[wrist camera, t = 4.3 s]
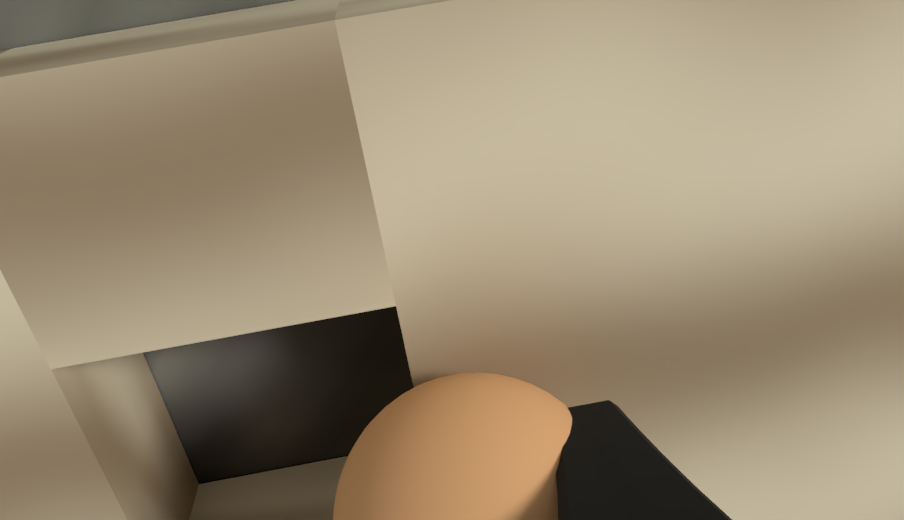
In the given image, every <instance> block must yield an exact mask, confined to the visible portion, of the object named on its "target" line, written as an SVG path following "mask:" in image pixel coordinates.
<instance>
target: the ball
mask: <svg viewBox="0 0 904 520" xmlns="http://www.w3.org/2000/svg"><path fill="white" fill-rule="evenodd" d="M571 426H572V416H571V413H570V411H569V410H568V407H567V406H566V405H565V404H564V403H562V402H561V401H560V400H558V399H557V398H555V397H554V396H553V395H551V394H550V393H548V392H546V391H544V390H542V389H540V388H539V387H537V386H535V385H533V384H530V383H527V382H524V381H522V380H519V379H516V378H512V377H508V376H504V375H499V374H493V373H481V372H476V373H460V374H454V375H449V376H444V377H439V378H436V379H433V380H431V381H428V382H425V383H423V384H420V385H418V386H416V387H414V388H412V389H411V390H409V391H407V392H405V393H403V394H402V395H400V396H399V397H398V398H396V399H395V400H394V401H392V402H391V403H390V404H388V405H387V406H386V407H384V408H383V409H382V410H381V411H380V412H379V414H378V415H377V416H376V417H375V418H374V419H373V420H372V421H371V422H370V423H369V424H368V425H367V427H366V428H365V429H364V431H363V432H362V434H361V435H360V437H359V438H358V440H357V441H356V443H355V445H354V446H353V448H352V450H351V452H350V453H349V456H348V458H347V460H346V462H345V465H344V467H343V470H342V473H341V476H340V479H339V483H338V487H337V491H336V496H335V502H334V510H333V520H558V495H557V484H556V471H557V467H558V464H559V460H560V456H561V451H562V447H563V446H564V444H565V442H566V441H567V439H568V436H569V434H570V431H571Z"/></svg>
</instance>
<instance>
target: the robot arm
mask: <svg viewBox="0 0 904 520" xmlns="http://www.w3.org/2000/svg"><path fill="white" fill-rule="evenodd" d="M568 410H569V411H570V413H571V416H572V426H571V431H570V434H569V436H568V439H567V441H566V442H565V444H564V446H563V447H562V451H561V456H560V460H559V464H558V467H557V471H556V484H557V495H558V520H732V519H731V518H730V517H729V516H728V515H727V514H725V513H724V512H723V511H722V510H721V509H720V508H719V507H718V506H717V505H716V504H715V503H713V502H712V501H711V500H710V499H709V498H708V497H707V496H706V495H705V494H704V493H702V492H701V491H700V490H699V489H698V488H697V487H696V486H695V485H694V484H693V483H692V482H691V481H690V480H689V479H688V478H687V477H686V476H685V475H684V474H683V473H682V472H681V471H680V470H679V469H678V468H677V467H675V466H674V465H673V464H672V463H671V462H670V461H669V460H668V459H667V458H666V457H665V456H664V455H663V454H662V453H661V452H660V451H659V450H658V448H657V447H656V446H655V445H654V444H653V443H652V442H651V441H650V440H649V439H648V438H647V437H646V436H645V435H644V434H643V433H642V432H641V431H640V430H639V429H638V428H637V427H636V425H635V424H634V423H633V422H632V421H631V420H630V419H629V418H628V417H627V416H626V415H625V413H624V412H623V411H622V410H621V409H620V408H619V407H618V406H617V405H616V404H614V403H613V402H611V401H610V400H606V401H601V402H595V403H590V404H585V405H579V406H574V407H568Z"/></svg>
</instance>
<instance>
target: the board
mask: <svg viewBox="0 0 904 520" xmlns="http://www.w3.org/2000/svg"><path fill="white" fill-rule="evenodd" d="M394 306H396V308H397V313H398V317H399V322H400V327H401V331H402V336H403V341H404V345H405V350H406V355H407V359H408V364H409V369H410V373H411V378H412V383H413V387H416V386H418V385H420V384H423V383H425V382H428V381H431V380H433V379H436V378H439V377H444V376H449V375H454V374H460V373H476V372H481V373H493V374H499V375H504V376H508V377H512V378H516V379H519V380H522V381H524V382H527V383H530V384H533V385H535V386H537V387H539V388H540V389H542V390H544V391H546V392H548V393H550V394H551V395H553V396H554V397H555V398H557V399H558V400H560V401H561V402H562V403H564V404H565V405H566V406H567V407H574V406H579V405H585V404H590V403H595V402H601V401H606V400H610V401H611V402H613V403H614V404H616V405H617V406H618V407H619V408H620V409H621V410H622V411H623V412H624V413H625V415H626V416H627V417H628V418H629V419H630V420H631V421H632V422H633V423H634V424H635V425H636V427H637V428H638V429H639V430H640V431H641V432H642V433H643V434H644V435H645V436H646V437H647V438H648V439H649V440H650V441H651V442H652V443H653V444H654V445H655V446H656V447H657V448H658V450H659V451H660V452H661V453H662V454H663V455H664V456H665V457H666V458H667V459H668V460H669V461H670V462H671V463H672V464H673V465H674V466H675V467H677V468H678V469H679V470H680V471H681V472H682V473H683V474H684V475H685V476H686V477H687V478H688V479H689V480H690V481H691V482H692V483H693V484H694V485H695V486H696V487H697V488H698V489H699V490H700V491H701V492H702V493H704V494H705V495H706V496H707V497H708V498H709V499H710V500H711V501H712V502H713V503H715V504H716V505H717V506H718V507H719V508H720V509H721V510H722V511H723V512H724V513H725V514H727V515H728V516H729V517H730V518H731V519H732V520H904V0H295V1H290V2H284V3H278V4H272V5H266V6H260V7H254V8H248V9H242V10H236V11H231V12H225V13H219V14H213V15H207V16H201V17H195V18H189V19H183V20H177V21H172V22H166V23H160V24H154V25H148V26H142V27H136V28H130V29H124V30H118V31H113V32H107V33H101V34H95V35H89V36H83V37H77V38H71V39H65V40H60V41H54V42H48V43H42V44H36V45H30V46H24V47H18V48H12V49H6V50H1V51H0V520H333V510H334V502H335V496H336V491H337V487H338V483H339V479H340V476H341V473H342V470H343V467H344V465H345V462H346V460H347V458H348V456H345V457H340V458H335V459H329V460H324V461H319V462H314V463H308V464H303V465H298V466H293V467H287V468H282V469H277V470H271V471H266V472H261V473H256V474H250V475H245V476H240V477H234V478H229V479H224V480H219V481H213V482H208V483H203V484H199V483H198V481H197V478H196V476H195V474H194V471H193V469H192V467H191V464H190V462H189V460H188V457H187V455H186V453H185V450H184V448H183V446H182V443H181V441H180V439H179V436H178V434H177V432H176V429H175V427H174V425H173V422H172V420H171V418H170V415H169V413H168V411H167V408H166V406H165V404H164V401H163V399H162V397H161V394H160V392H159V390H158V387H157V385H156V382H155V380H154V378H153V375H152V373H151V371H150V368H149V366H148V364H147V361H146V359H145V357H144V354H143V352H149V351H154V350H160V349H165V348H171V347H176V346H181V345H187V344H192V343H198V342H203V341H209V340H214V339H220V338H225V337H230V336H236V335H241V334H247V333H252V332H258V331H263V330H269V329H274V328H280V327H285V326H290V325H296V324H301V323H307V322H312V321H318V320H323V319H329V318H334V317H340V316H345V315H350V314H356V313H361V312H367V311H372V310H378V309H383V308H389V307H394Z"/></svg>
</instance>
